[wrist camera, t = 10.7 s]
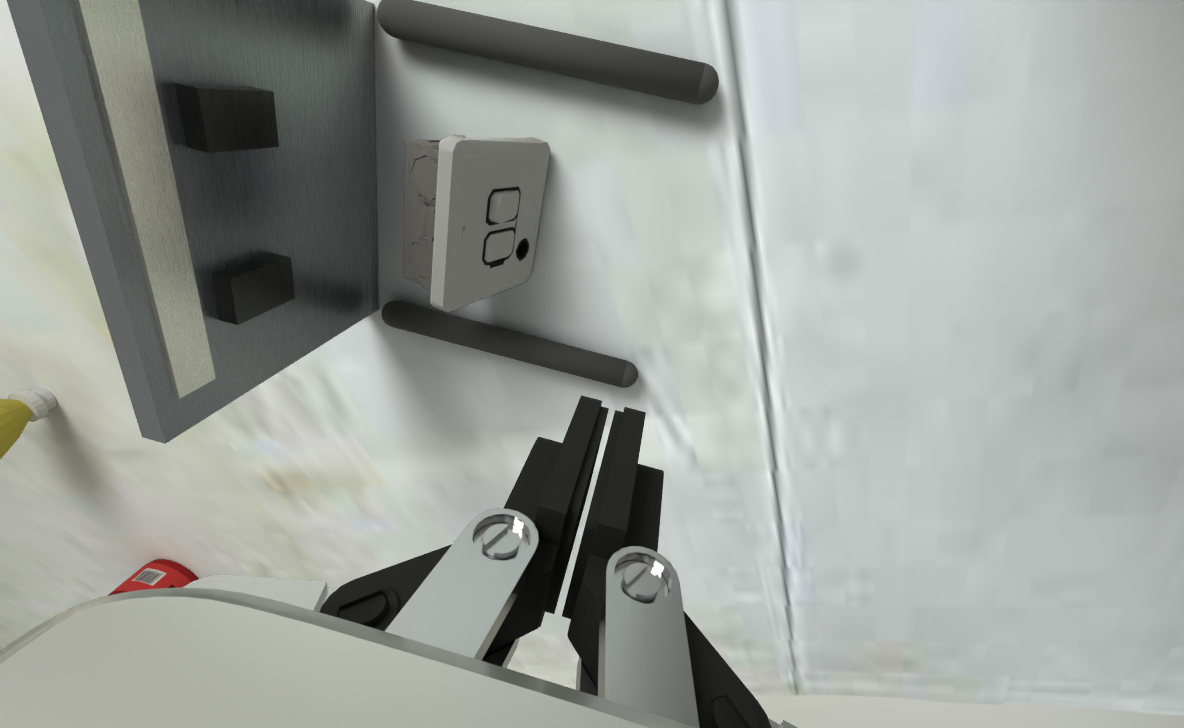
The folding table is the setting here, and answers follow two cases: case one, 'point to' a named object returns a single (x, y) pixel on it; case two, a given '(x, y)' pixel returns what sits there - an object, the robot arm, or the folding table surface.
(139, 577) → the canned food
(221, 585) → the robot arm
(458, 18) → the cable near
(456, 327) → the cable far
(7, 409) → the light bulb
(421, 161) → the electrical switch
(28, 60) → the panel
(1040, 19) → the folding table surface
